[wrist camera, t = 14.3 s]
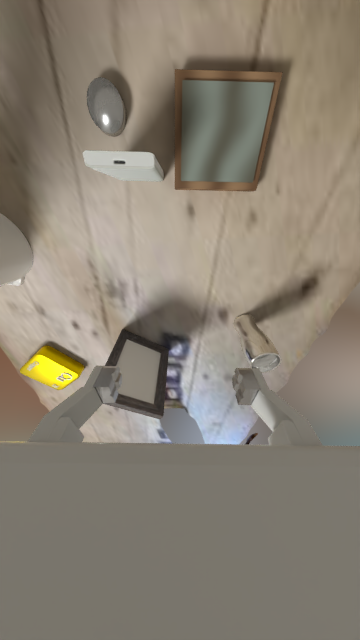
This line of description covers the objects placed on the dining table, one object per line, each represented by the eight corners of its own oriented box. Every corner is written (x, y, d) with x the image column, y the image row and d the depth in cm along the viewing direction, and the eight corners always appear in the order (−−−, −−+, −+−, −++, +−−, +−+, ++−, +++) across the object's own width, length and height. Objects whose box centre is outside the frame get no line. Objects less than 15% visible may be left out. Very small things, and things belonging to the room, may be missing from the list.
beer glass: (226, 323, 48) (242, 364, 35) (246, 308, 45) (271, 347, 32) (241, 335, 50) (260, 377, 38) (260, 321, 47) (288, 362, 35)
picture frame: (168, 349, 54) (163, 416, 37) (165, 352, 55) (159, 420, 38) (122, 329, 49) (91, 396, 32) (120, 333, 50) (88, 400, 33)
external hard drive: (163, 182, 29) (155, 169, 19) (118, 180, 29) (85, 167, 19) (163, 169, 28) (154, 150, 18) (116, 168, 28) (80, 148, 18)
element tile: (46, 342, 53) (35, 353, 49) (87, 365, 60) (80, 377, 56) (26, 362, 58) (15, 373, 55) (66, 381, 65) (59, 392, 61)
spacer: (98, 136, 26) (92, 132, 25) (88, 85, 23) (81, 76, 22) (129, 137, 26) (125, 132, 25) (123, 86, 24) (119, 77, 22)
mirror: (175, 189, 30) (174, 188, 28) (175, 81, 23) (174, 66, 21) (250, 191, 30) (257, 190, 28) (273, 84, 23) (284, 69, 21)
